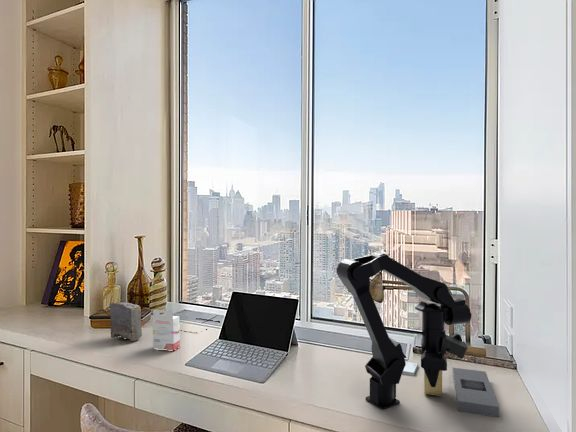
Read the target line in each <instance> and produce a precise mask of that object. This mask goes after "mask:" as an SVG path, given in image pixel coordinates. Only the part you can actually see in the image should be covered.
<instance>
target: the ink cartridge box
mask: <svg viewBox="0 0 576 432" xmlns="http://www.w3.org/2000/svg"><path fill="white" fill-rule="evenodd" d="M180 324H181V323H180V315H174V311H173V310H167V309H153V311H152V349H153V348H158V349H167V350H175V349H177V348H178V347H180V348H181V331H180ZM178 349H179V348H178ZM178 349H177V350H178ZM175 351H176V350H175Z"/></svg>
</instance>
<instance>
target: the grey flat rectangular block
mask: <svg viewBox="0 0 576 432" xmlns="http://www.w3.org/2000/svg"><path fill="white" fill-rule="evenodd" d="M452 380H453V387H454V393H455V398H456V406H457V410H458V412H462V413H463V412H464V413H471V414H477V415H483V416H489V417H496V418H499V417H500V413H499V412H500V409H499V407H500V406H499V404H498V401H497V399H496V396H495V393H494V390H493V388H492V384H491V382H490V380H489V376H488V374H487V371H483V370H478V369H476V370H475V369H467V368H458V367H452Z"/></svg>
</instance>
